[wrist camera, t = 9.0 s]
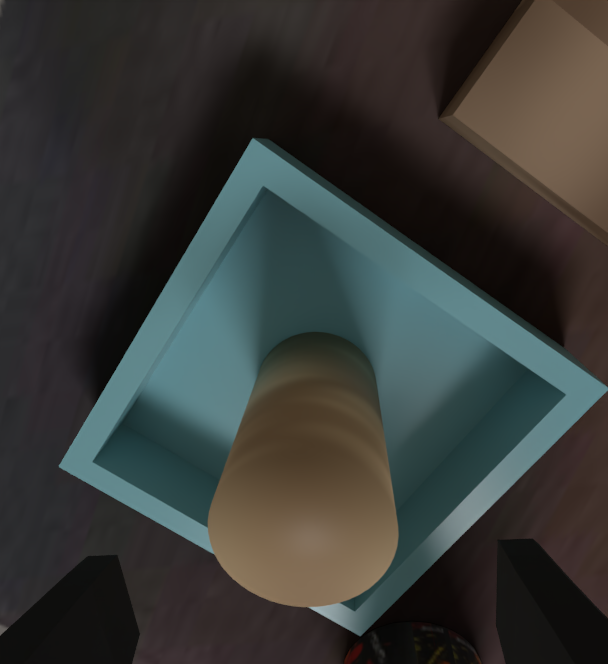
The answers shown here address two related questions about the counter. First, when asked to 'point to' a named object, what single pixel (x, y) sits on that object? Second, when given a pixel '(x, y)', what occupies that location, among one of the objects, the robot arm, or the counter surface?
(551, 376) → the tray
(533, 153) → the socket block
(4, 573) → the counter surface
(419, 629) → the deodorant
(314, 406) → the dowel
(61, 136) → the counter surface
